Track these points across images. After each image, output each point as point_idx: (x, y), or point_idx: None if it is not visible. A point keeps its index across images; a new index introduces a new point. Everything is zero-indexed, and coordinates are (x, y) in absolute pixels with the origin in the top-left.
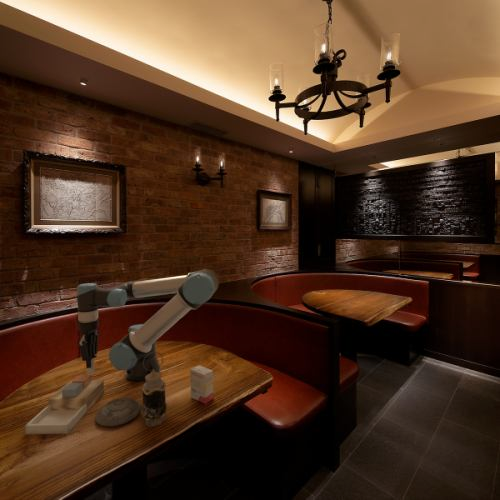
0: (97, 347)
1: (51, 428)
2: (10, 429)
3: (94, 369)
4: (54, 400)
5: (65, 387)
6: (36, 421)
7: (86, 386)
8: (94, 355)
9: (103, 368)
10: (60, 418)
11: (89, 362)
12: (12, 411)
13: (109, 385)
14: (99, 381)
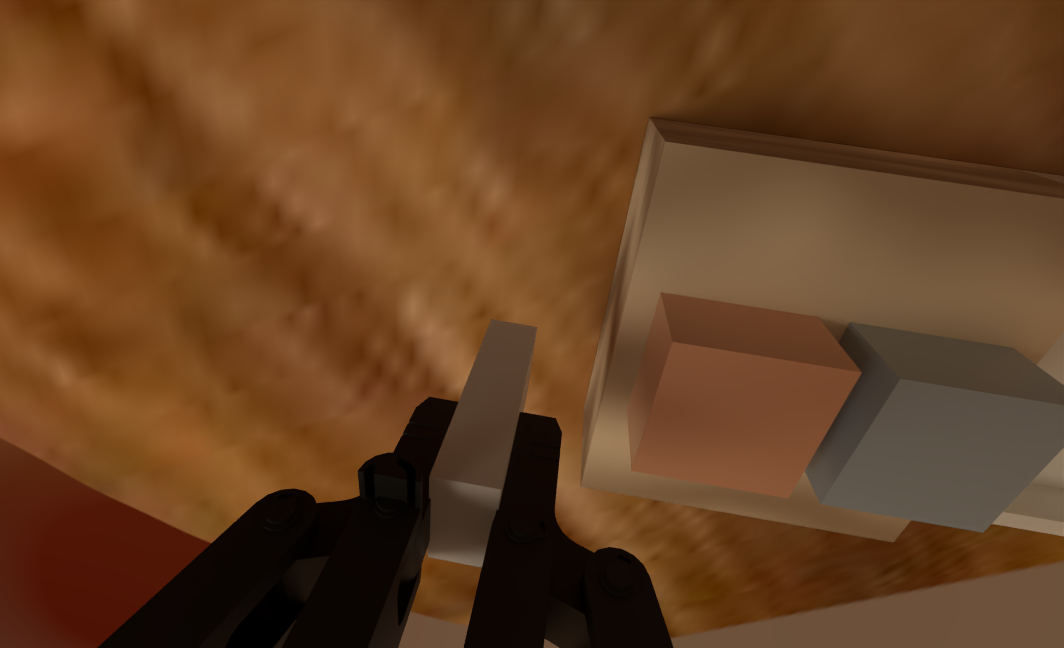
0: (139, 621)
1: None
2: (945, 568)
3: (486, 346)
4: None
5: (933, 517)
6: (1032, 495)
7: (777, 312)
8: (385, 516)
9: (179, 284)
10: (1053, 358)
11: (553, 494)
12: (728, 606)
13: (511, 101)
14: (679, 192)
